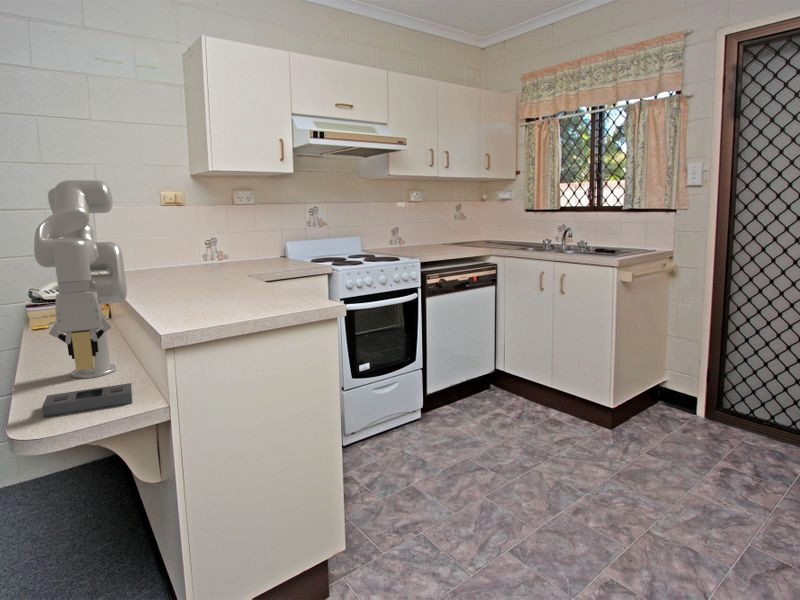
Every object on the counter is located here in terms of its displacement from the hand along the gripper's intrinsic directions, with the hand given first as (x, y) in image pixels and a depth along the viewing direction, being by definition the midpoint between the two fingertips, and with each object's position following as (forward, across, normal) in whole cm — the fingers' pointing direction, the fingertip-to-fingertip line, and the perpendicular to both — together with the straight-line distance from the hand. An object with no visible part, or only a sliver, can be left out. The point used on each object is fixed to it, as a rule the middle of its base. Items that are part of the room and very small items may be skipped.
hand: (84, 355), depth 138 cm
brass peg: (+3, 0, 0) cm, 3 cm away
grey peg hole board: (+14, 0, -1) cm, 14 cm away
